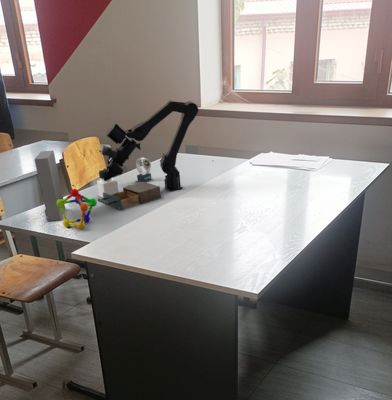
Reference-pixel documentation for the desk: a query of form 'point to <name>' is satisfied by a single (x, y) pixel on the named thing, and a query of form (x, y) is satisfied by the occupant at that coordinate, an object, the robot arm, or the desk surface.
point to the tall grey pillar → (49, 184)
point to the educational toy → (83, 207)
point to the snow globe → (142, 176)
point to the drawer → (116, 199)
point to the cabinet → (144, 191)
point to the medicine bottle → (106, 184)
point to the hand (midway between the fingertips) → (104, 178)
